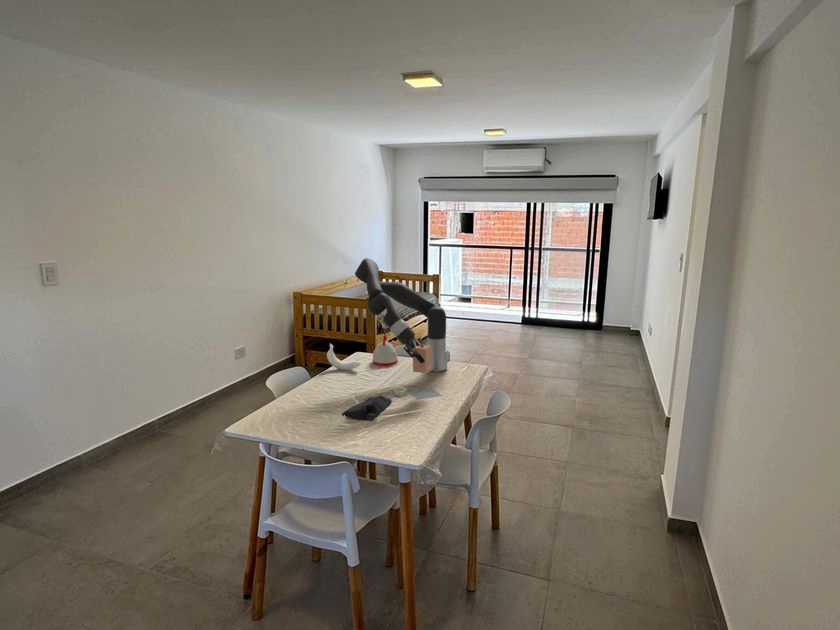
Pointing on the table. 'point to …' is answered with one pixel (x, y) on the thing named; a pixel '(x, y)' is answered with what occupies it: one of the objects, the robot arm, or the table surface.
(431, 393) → the mat
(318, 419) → the table surface
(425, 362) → the tan rectangular block
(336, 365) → the banana
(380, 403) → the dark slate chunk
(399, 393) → the dish
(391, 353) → the kitchen timer
